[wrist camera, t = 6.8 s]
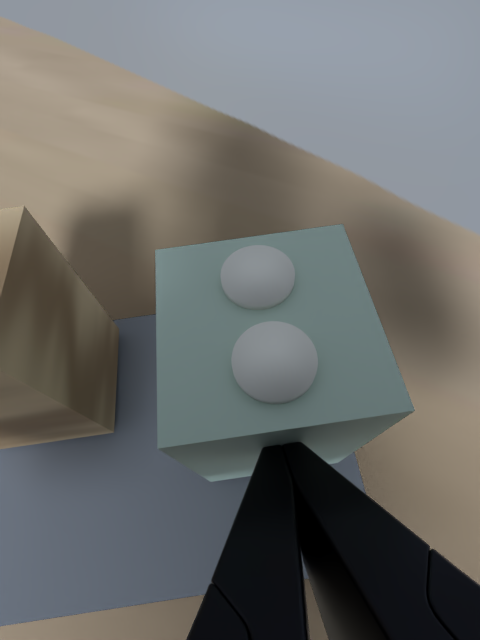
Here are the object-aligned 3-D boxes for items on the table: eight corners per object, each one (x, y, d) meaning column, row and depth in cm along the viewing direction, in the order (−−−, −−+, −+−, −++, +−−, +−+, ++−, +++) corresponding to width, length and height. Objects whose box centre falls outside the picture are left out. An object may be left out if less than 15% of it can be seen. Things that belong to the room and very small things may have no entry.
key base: (372, 560, 12) (386, 566, 11) (-26, 622, 12) (-62, 635, 11) (305, 309, 17) (309, 292, 16) (27, 348, 17) (8, 335, 16)
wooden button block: (114, 432, 13) (-24, 356, 7) (-5, 449, 13) (-256, 389, 7) (119, 329, 15) (19, 199, 9) (17, 343, 15) (-155, 223, 9)
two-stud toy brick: (337, 462, 12) (419, 407, 6) (210, 481, 12) (154, 446, 6) (308, 347, 14) (344, 217, 8) (201, 363, 14) (153, 244, 8)
